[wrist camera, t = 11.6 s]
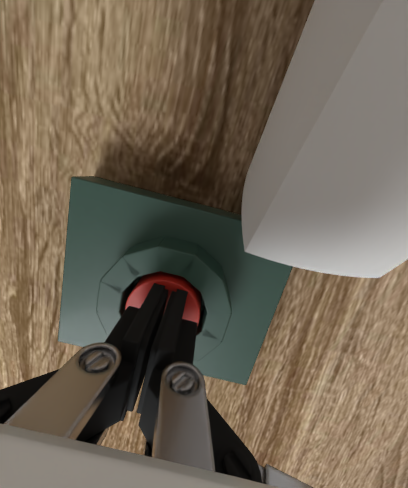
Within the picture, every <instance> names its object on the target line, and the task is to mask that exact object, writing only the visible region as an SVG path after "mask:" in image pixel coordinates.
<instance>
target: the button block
mask: <svg viewBox="0 0 408 488" xmlns="http://www.w3.org/2000/svg"><path fill="white" fill-rule="evenodd" d="M292 267H293V266H289V265H286V264H282V263H278V262H275V261H271V260H268V259H265V258H262V257H259V256H256V255H253V254H250V253H247V252H245V250H244V243H243V234H242V215H240V214H236V213H232V212H229V211H225V210H221V209H217V208H213V207H209V206H206V205H202V204H198V203H194V202H190V201H186V200H182V199H179V198H175V197H171V196H167V195H163V194H159V193H156V192H152V191H148V190H144V189H140V188H136V187H133V186H129V185H125V184H121V183H117V182H113V181H110V180H106V179H102V178H98V177H94V176H85V177H72V178H71V190H70V202H69V214H68V226H67V238H66V250H65V261H64V273H63V285H62V297H61V309H60V321H59V333H58V341H60V342H64V343H68V344H72V345H77V346H81V347H85V346H87V345H89V344H93V343H104V342H105V341H106V339H107V338H108V336H109V335H110V333H111V332H112V330H113V328H114V327H115V325H116V324H117V322H118V321H119V319H120V318H121V316H122V315H123V313H124V312H125V306H126V301H127V299H128V297H129V295H130V293H131V292H132V290H133V289H134V288H135V286H136V285H137V283H138V282H139V280H140V279H141V278H142V277H143V275H147V274H151V273H155V272H159V271H162V272H166V273H170V274H174V275H178V276H182V277H184V278H185V279H186V280H187V281H188V282H190V283H191V284H192V285H193V286H194V287H195V288H196V289H197V290H199V291H200V292H201V309H200V319H199V323H198V326H197V333H196V342H195V351H194V360H193V365H194V366H196V367H197V368H198V369H199V370H200V371H201V373H202V375H205V376H209V377H213V378H218V379H222V380H226V381H230V382H235V383H239V384H243V385H246V384H247V381H248V379H249V376H250V374H251V371H252V369H253V366H254V364H255V361H256V358H257V356H258V353H259V351H260V348H261V346H262V343H263V341H264V338H265V336H266V333H267V331H268V328H269V325H270V323H271V320H272V318H273V315H274V313H275V310H276V308H277V305H278V303H279V300H280V298H281V295H282V292H283V290H284V287H285V285H286V282H287V280H288V277H289V275H290V272H291V270H292Z"/></svg>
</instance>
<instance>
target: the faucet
mask: <svg viewBox="0 0 408 488" xmlns="http://www.w3.org/2000/svg"><path fill="white" fill-rule="evenodd" d="M242 234H243V243H244V250H245V252H247V253H250V254H253V255H256V256H259V257H262V258H265V259H268V260H271V261H275V262H278V263H282V264H286V265H289V266H293V267H297V268H302V269H306V270H311V271H316V272H322V273H328V274H334V275H342V276H351V277H365V278H380V277H381V276H383V275H384V274H386V273H387V272H389V271H391V270H392V269H394V268H395V267H397V266H398V265H400V264H401V263H403V262H404V261H406V260H407V259H408V0H315V1H314V4H313V6H312V9H311V11H310V14H309V16H308V19H307V21H306V24H305V27H304V29H303V32H302V34H301V37H300V39H299V42H298V44H297V47H296V49H295V52H294V55H293V57H292V60H291V62H290V65H289V67H288V70H287V72H286V75H285V78H284V80H283V83H282V85H281V88H280V90H279V93H278V95H277V98H276V101H275V103H274V106H273V108H272V111H271V113H270V116H269V118H268V121H267V123H266V126H265V129H264V131H263V134H262V136H261V139H260V141H259V144H258V146H257V149H256V152H255V154H254V157H253V159H252V162H251V164H250V167H249V170H248V173H247V176H246V180H245V184H244V189H243V197H242Z"/></svg>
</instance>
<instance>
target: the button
mask: <svg viewBox="0 0 408 488" xmlns="http://www.w3.org/2000/svg"><path fill="white" fill-rule="evenodd" d="M154 283H156V284H160V285H164V286H165V289H167V290H169V291H168V296H167V300H166V304H165V308H164V311H165V309H166V306H167V303H168V300H169V298H170V295H171V292H172V291H175V292H176V291H177V289H180V290H184V291H188V294H187V299H186V303H185V308H184V312H183V317H182V319H185V320H189V321H193V322H197V326H198V323H199V319H200V309H201V292H200V291H199V290H197V289H196V288H195V287H194V286H193V285H192V284H191V283H190V282H188V281H187V280H186V279H185V278H184V277H182V276H178V275H174V274H170V273H166V272H162V271H159V272H155V273H151V274H147V275H143V277H142V278H141V279H140V280H139V282H138V283H137V285H136V286H135V288H134V289H133V290H132V292H131V293H130V295H129V297H128V299H127V301H126V306H125V310H126V309H127V307H128V306H132V307H136V308H140V307H141V305H142V303H143V302H144V300H145V298H146V296H147V295H148V293H149V291H150V289H151V287H152V286H153V284H154ZM163 314H164V313H163Z"/></svg>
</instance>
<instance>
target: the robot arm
mask: <svg viewBox="0 0 408 488" xmlns="http://www.w3.org/2000/svg"><path fill="white" fill-rule="evenodd" d="M168 291H169V290H167V289H165V286H164V285H160V284H156V283H154V284H153V286H152V287H151V289H150V291H149V293H148V295H147V296H146V298H145V300H144V302H143V303H142V305H141V307H140V308H136V307H132V306H128V307H127V309H126V310H125V312H124V313H123V315H122V316H121V318H120V319H119V321H118V322H117V324H116V325H115V327H114V328H113V330H112V332H111V333H110V335H109V336H108V338H107V339H106V341H105V342H104V343H93V344H89V345H87V346H85V347H83V348H82V349H80V350H79V351H78V352H77V353H76V354H75V355H74V356H73V357H72V358H71V359H70V360H69V361H68V362H67V363H66V364H65V365H63V366H62V367H61V368H60V369H59V370H56V371H53V372H50V373H47V374H44V375H41V376H39V377H36V378H33V379H30V380H27V381H24V382H21V383H19V384H16V385H13V386H10V387H7V388H4V389H1V390H0V488H313V487H311V486H309V485H307V484H305V483H303V482H301V481H300V480H298V479H296V478H294V477H292V476H290V475H288V474H286V473H284V472H282V471H280V470H278V469H276V468H274V467H272V466H270V465H268V464H266V466H265V468H264V467H263V466H261V465H259V464H257V461H256V460H255V458H254V456H253V455H252V453H251V452H250V451H249V450H248V448H247V447H246V446H245V445H244V443H243V442H242V441H241V440H240V439H239V437H238V436H237V435H236V434H235V432H234V431H233V430H232V429H231V428H230V426H229V425H228V424H227V423H226V421H225V420H224V419H223V418H222V417H221V415H220V414H219V413H218V412H217V410H216V409H215V408H214V407H213V406H212V404H211V403H210V402H209V401H208V399H207V397H206V389H205V381H204V377H203V375H202V373H201V371H200V370H199V369H198V368H197V367H196V366H194V365H193V360H194V351H195V342H196V333H197V322H193V321H189V320H185V319H182V317H183V312H184V308H185V303H186V299H187V294H188V291H184V290H180V289H177V291H176V292H175V291H172V292H171V295H170V298H169V300H168V303H167V306H166V309H165V311H164V308H165V304H166V300H167V296H168ZM163 313H164V314H163ZM144 377H145V378H144ZM143 380H144V383H143V387H142V392H141V396H140V400H139V405H138V409H137V413H140V414H141V417H140V421H139V426H140V428H141V430H142V432H143V434H144V436H145V438H146V439H145V443H144V450H143V455H140V454H135V453H131V452H126V451H122V450H117V449H113V448H109V447H104V446H100V445H101V444H102V442H103V440H104V438H105V437H106V434H107V432H108V429H109V427H110V426H112V425H113V424H115V423H117V422H119V421H120V420H121V421H123V420H124V417H125V415H126V412H127V411H133V408H134V406H135V403H136V400H137V397H138V394H139V391H140V388H141V385H142V382H143Z"/></svg>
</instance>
